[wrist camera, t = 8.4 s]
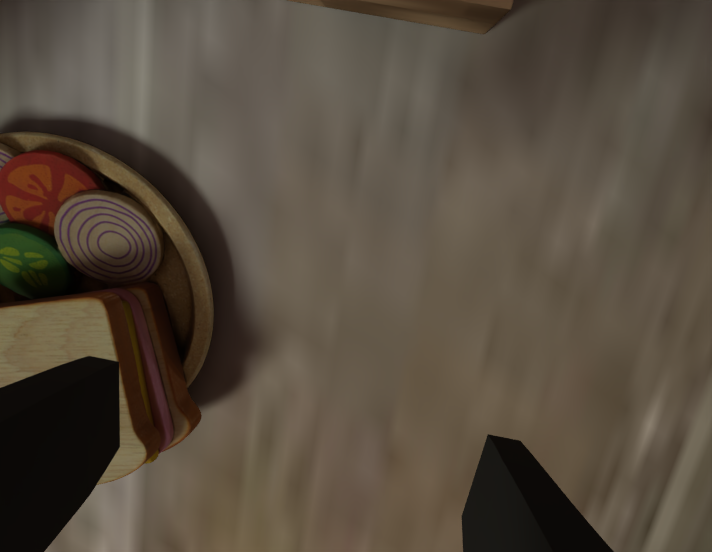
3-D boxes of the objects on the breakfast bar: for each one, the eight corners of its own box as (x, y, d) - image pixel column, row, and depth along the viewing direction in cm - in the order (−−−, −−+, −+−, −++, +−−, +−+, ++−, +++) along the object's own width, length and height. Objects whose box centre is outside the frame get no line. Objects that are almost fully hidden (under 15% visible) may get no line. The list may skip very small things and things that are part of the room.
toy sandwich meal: (201, 125, 17) (132, 130, 13) (242, 431, 22) (201, 514, 17) (-105, 134, 19) (-265, 142, 14) (-8, 423, 23) (-106, 498, 19)
